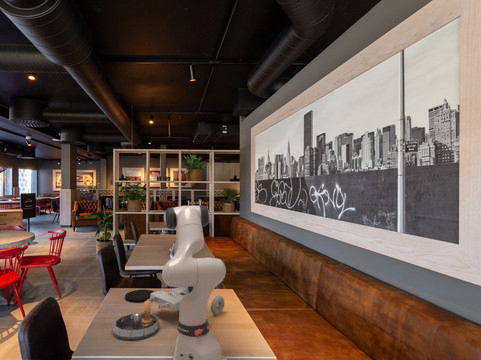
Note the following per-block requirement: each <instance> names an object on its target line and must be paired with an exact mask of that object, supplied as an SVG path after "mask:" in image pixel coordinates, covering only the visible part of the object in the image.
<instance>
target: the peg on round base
mask: <svg viewBox="0 0 481 360" xmlns="http://www.w3.org/2000/svg"><path fill="white" fill-rule="evenodd" d="M143 305H144V307H143V310H144V311H143V313H144V318H143V319H142V324H143V325H148V324H151V323H152V318H150V313H151V314H152V311H151V310H152V306H151V305H152V303H151V301H145V302H144V304H143Z"/></svg>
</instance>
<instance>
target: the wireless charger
mask: <svg viewBox="0 0 481 360" xmlns="http://www.w3.org/2000/svg"><path fill="white" fill-rule="evenodd" d="M153 292H155V290H152V289H151V290H150V289H136V290H131V291H129V292H127V293H125V295H124V301H126V302H128V303H133V304H141V303H142V304H143V303H144V302H145V301H147V300H148V299H150V295H151V293H153Z"/></svg>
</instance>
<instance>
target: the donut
mask: <svg viewBox="0 0 481 360" xmlns="http://www.w3.org/2000/svg"><path fill="white" fill-rule="evenodd" d="M224 308H225V299H224V297H223V296H222V295H217V296H215V297H214V298H213V299H212V301H211V303H210V312H211V314H212V315H214V316H219V315H220V314H222V312H223V310H224Z"/></svg>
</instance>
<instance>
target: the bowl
mask: <svg viewBox="0 0 481 360" xmlns="http://www.w3.org/2000/svg"><path fill="white" fill-rule="evenodd" d="M143 318H144V311H143V312H142V311H141V312H140V311H137V312H133V313H131V312H130V313H128V314H125V315H121V316H119V317H118V318H116V319H115V320H114V321H113V330H112V332H113V336H114V338H117V340H122V341H128V342H129V341H139V340H145V339H148V338H150V337H152V336H154V335H155V334H156V333H158V332H159V327H160V319H159V316H157V315H156V314H153V313H152V312H151V313H150V318H152V323H151V324H148V325H143V324H142V319H143Z"/></svg>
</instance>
